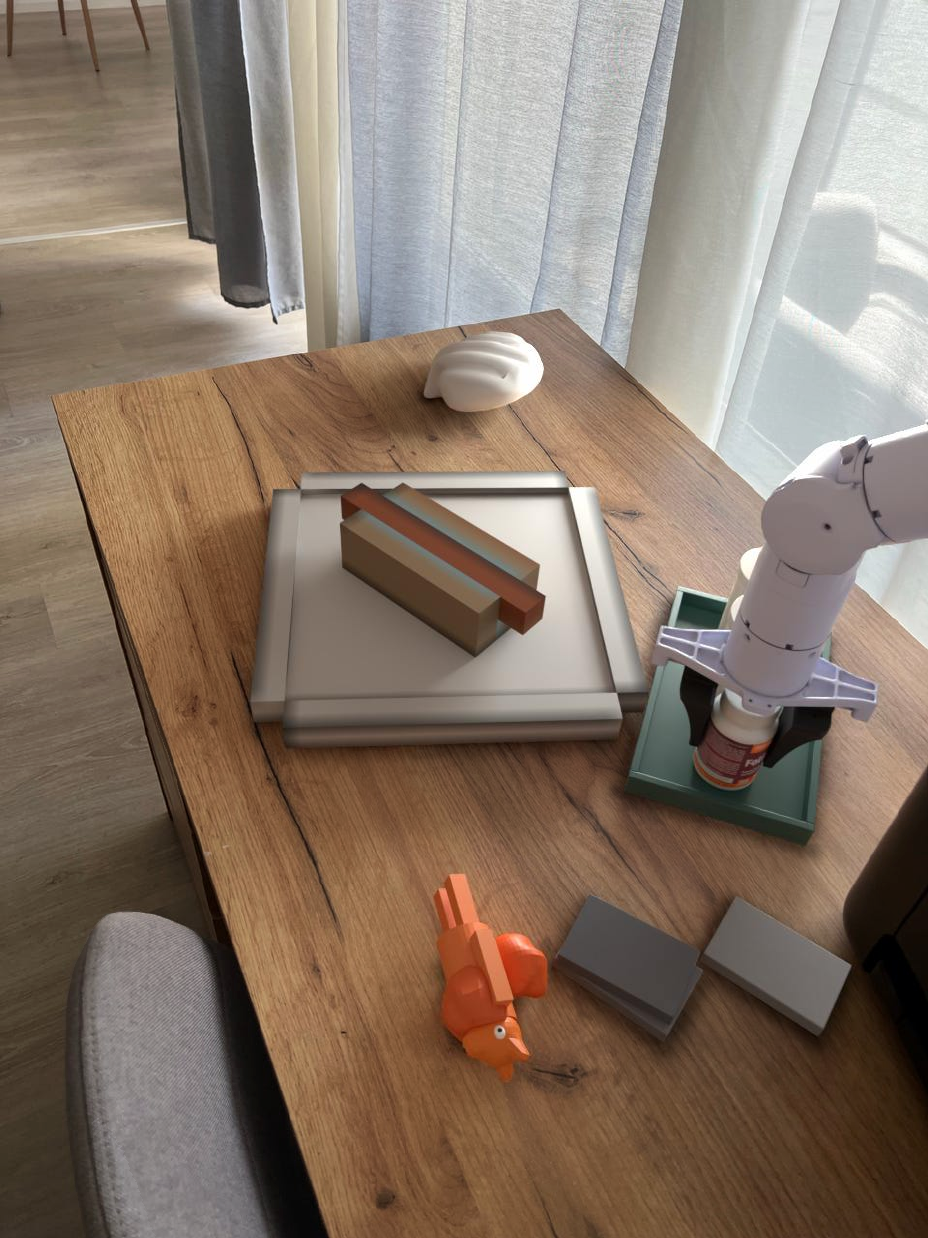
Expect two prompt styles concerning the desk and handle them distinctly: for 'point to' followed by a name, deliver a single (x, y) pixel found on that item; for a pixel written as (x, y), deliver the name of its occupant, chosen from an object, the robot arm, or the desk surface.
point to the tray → (666, 757)
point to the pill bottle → (733, 743)
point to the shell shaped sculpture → (484, 372)
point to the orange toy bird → (484, 979)
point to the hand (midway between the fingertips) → (731, 746)
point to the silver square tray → (442, 612)
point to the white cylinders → (737, 593)
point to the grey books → (666, 972)
